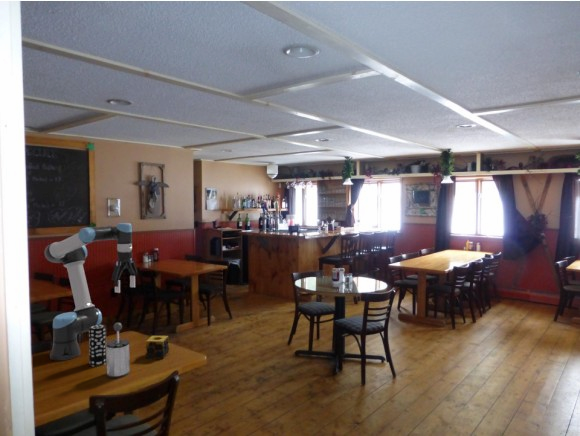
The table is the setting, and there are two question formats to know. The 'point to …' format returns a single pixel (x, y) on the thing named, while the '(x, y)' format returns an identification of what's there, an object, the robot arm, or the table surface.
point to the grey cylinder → (118, 358)
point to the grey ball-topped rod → (117, 329)
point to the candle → (157, 347)
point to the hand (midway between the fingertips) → (125, 289)
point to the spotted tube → (97, 345)
